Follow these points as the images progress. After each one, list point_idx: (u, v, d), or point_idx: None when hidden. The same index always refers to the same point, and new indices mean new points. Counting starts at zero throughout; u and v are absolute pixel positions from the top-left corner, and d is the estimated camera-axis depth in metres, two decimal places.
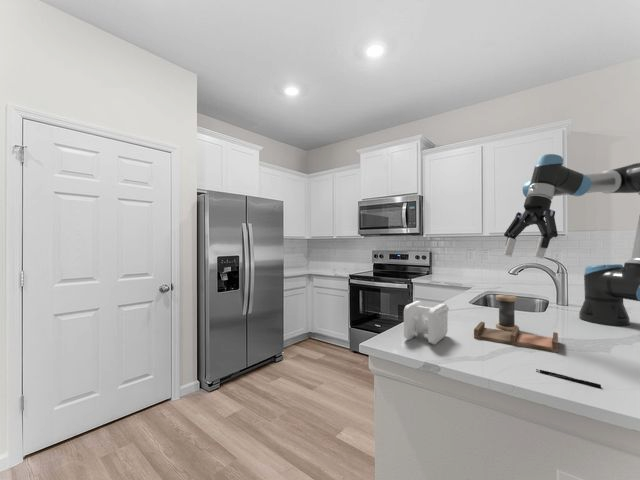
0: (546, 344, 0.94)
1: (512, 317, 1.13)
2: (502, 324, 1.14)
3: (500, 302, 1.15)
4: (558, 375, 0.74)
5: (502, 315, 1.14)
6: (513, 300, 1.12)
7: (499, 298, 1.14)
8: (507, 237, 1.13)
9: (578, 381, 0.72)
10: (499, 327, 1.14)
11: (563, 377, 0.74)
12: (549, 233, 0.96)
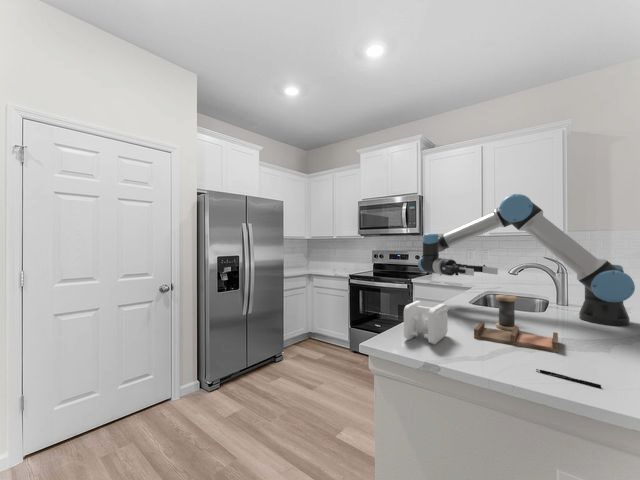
0: (546, 344, 0.94)
1: (512, 317, 1.13)
2: (502, 324, 1.14)
3: (500, 302, 1.15)
4: (558, 375, 0.74)
5: (502, 315, 1.14)
6: (513, 300, 1.12)
7: (499, 298, 1.14)
8: None
9: (578, 381, 0.72)
10: (499, 327, 1.14)
11: (563, 377, 0.74)
12: (452, 273, 1.27)
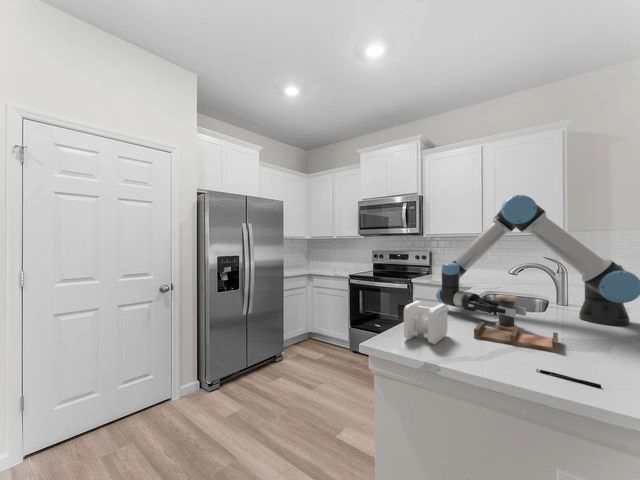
0: (546, 344, 0.94)
1: (512, 317, 1.13)
2: (502, 324, 1.14)
3: (500, 302, 1.15)
4: (558, 375, 0.74)
5: (502, 315, 1.14)
6: (513, 300, 1.12)
7: (499, 298, 1.14)
8: None
9: (578, 381, 0.72)
10: (499, 327, 1.14)
11: (563, 377, 0.74)
12: None
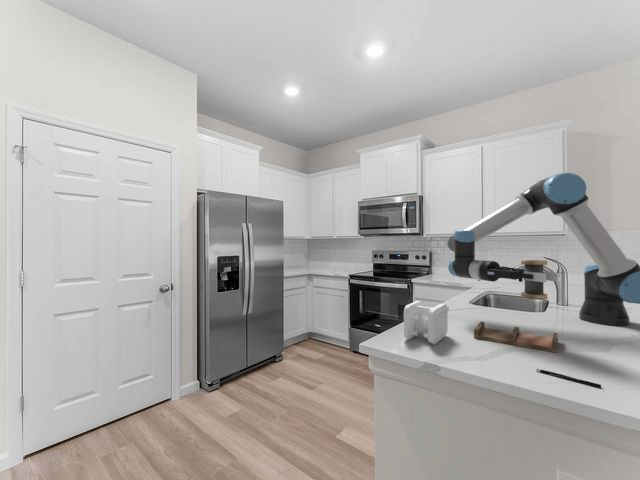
0: (546, 344, 0.94)
1: (541, 283, 0.96)
2: (529, 292, 0.98)
3: (526, 267, 0.99)
4: (558, 375, 0.74)
5: (528, 282, 0.98)
6: (542, 263, 0.95)
7: (525, 262, 0.98)
8: None
9: (578, 381, 0.72)
10: (525, 296, 0.98)
11: (563, 377, 0.74)
12: (514, 279, 0.99)
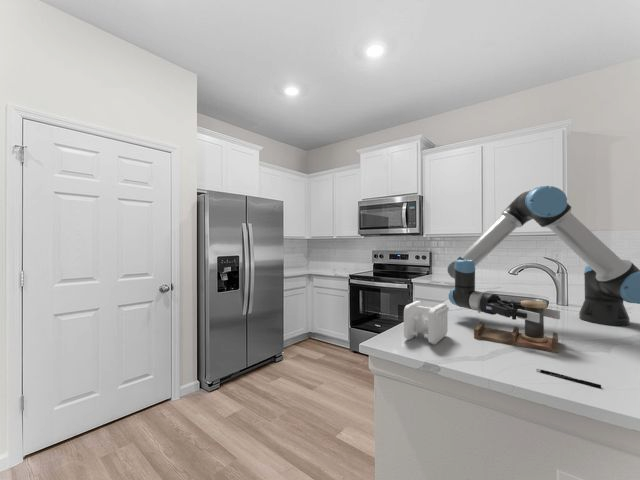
0: (546, 344, 0.94)
1: (541, 326, 0.96)
2: (529, 335, 0.98)
3: (526, 309, 0.99)
4: (558, 375, 0.74)
5: (529, 324, 0.98)
6: (542, 307, 0.95)
7: (525, 304, 0.98)
8: None
9: (578, 381, 0.72)
10: (526, 338, 0.98)
11: (563, 377, 0.74)
12: (508, 317, 0.99)
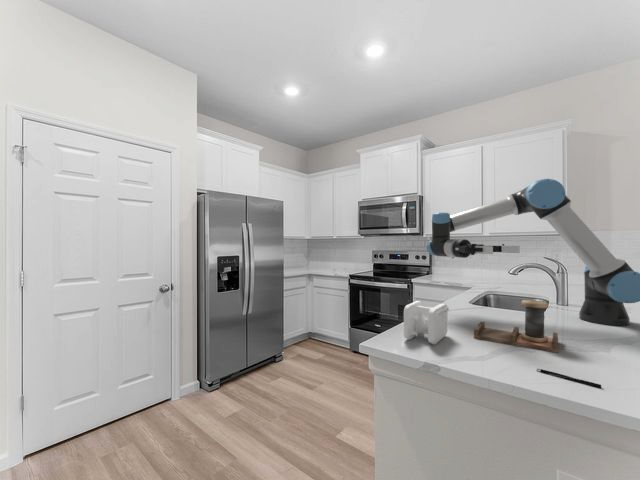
0: (546, 344, 0.94)
1: (542, 326, 0.96)
2: (529, 334, 0.98)
3: (527, 309, 0.98)
4: (558, 375, 0.75)
5: (529, 324, 0.98)
6: (544, 306, 0.95)
7: (527, 304, 0.98)
8: None
9: (578, 381, 0.72)
10: (526, 338, 0.98)
11: (563, 377, 0.74)
12: (467, 253, 1.11)
